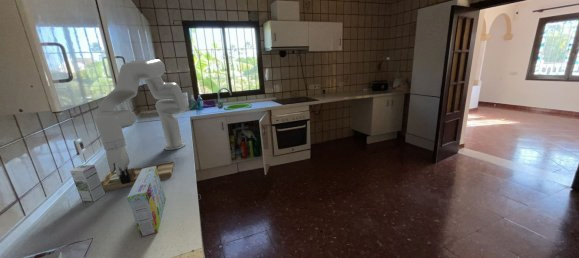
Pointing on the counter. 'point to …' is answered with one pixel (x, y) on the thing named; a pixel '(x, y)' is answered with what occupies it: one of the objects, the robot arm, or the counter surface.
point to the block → (131, 173)
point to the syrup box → (87, 183)
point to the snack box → (147, 201)
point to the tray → (113, 180)
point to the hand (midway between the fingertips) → (126, 182)
